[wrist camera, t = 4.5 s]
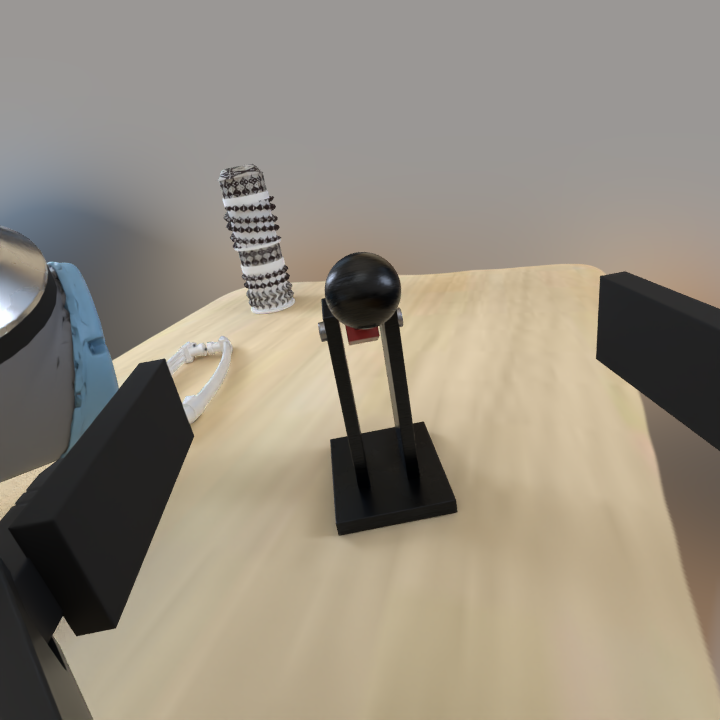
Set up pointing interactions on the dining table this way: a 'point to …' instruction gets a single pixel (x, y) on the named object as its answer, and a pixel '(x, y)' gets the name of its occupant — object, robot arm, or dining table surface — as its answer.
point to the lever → (362, 294)
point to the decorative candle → (256, 238)
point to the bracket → (382, 448)
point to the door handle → (198, 402)
